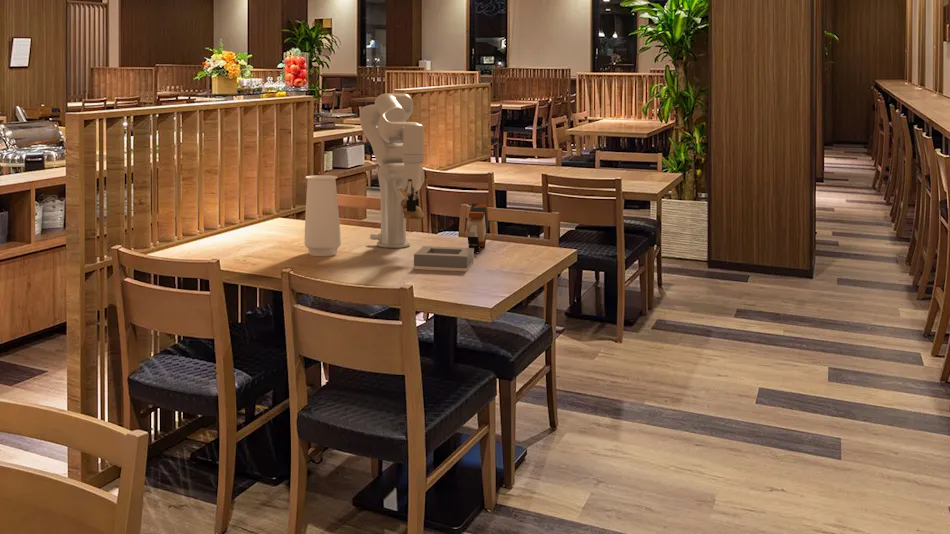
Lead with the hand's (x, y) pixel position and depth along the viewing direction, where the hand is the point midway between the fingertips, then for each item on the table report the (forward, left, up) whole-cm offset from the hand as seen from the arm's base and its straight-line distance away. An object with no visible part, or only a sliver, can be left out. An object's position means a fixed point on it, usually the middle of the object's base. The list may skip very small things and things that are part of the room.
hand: (412, 209), depth 319 cm
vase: (-33, -2, -17) cm, 37 cm away
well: (+14, -14, -17) cm, 26 cm away
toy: (+20, +20, -17) cm, 33 cm away
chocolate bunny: (0, 0, -3) cm, 3 cm away
